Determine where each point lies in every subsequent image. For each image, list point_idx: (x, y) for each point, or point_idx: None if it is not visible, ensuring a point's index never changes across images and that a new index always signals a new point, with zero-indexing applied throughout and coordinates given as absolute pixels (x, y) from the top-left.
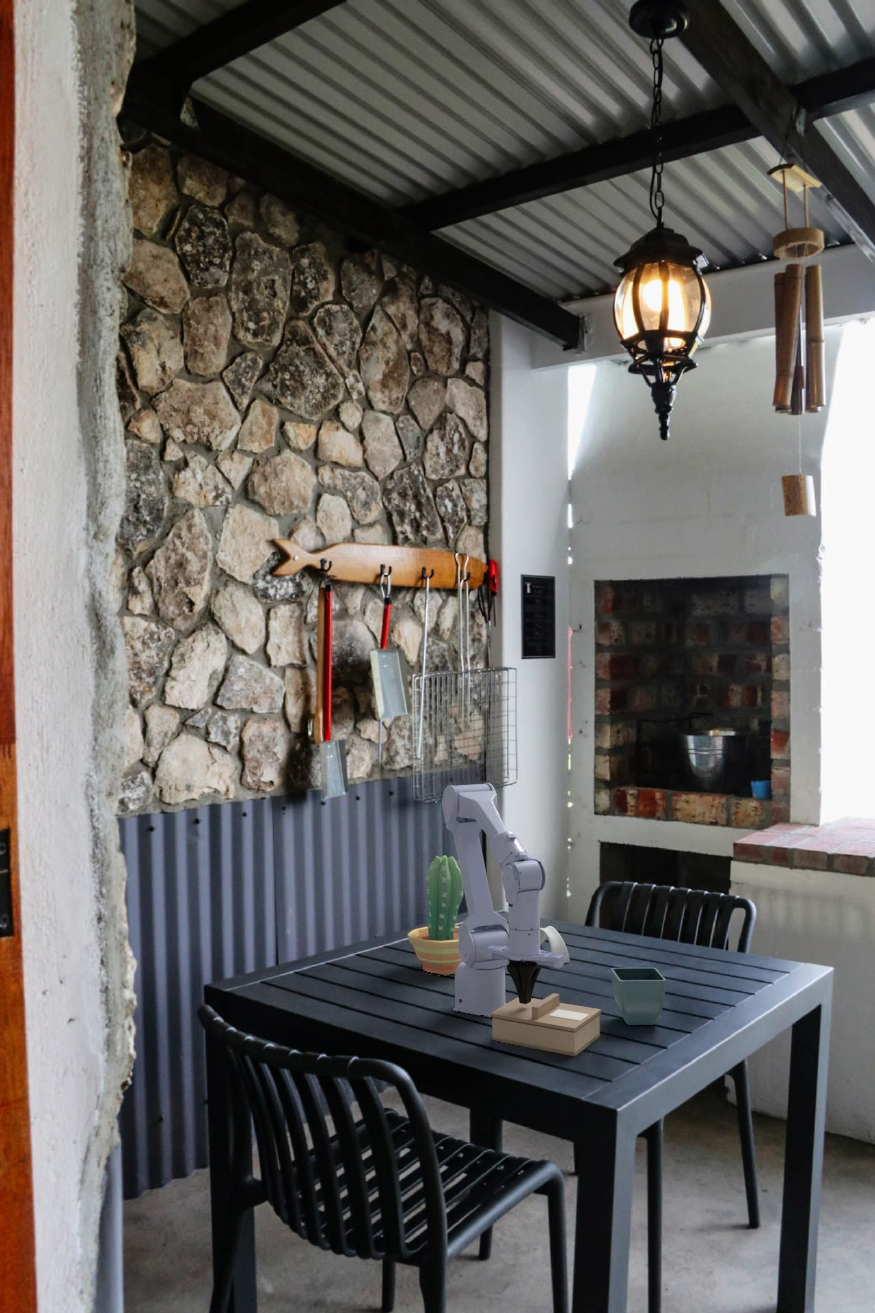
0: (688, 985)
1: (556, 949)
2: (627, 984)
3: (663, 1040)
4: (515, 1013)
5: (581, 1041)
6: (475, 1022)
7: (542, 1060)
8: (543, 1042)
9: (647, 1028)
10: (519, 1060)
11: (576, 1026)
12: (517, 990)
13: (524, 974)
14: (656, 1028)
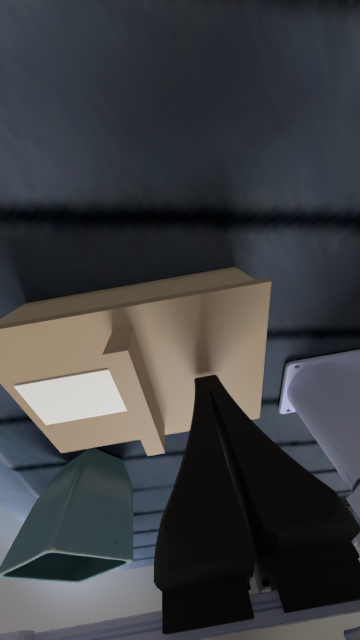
0: (140, 528)
1: None
2: (41, 543)
3: (7, 438)
4: (200, 329)
5: None
6: (314, 330)
7: (52, 232)
8: (97, 296)
9: (66, 453)
10: (93, 187)
11: None
12: (231, 403)
13: (205, 495)
14: (58, 458)
